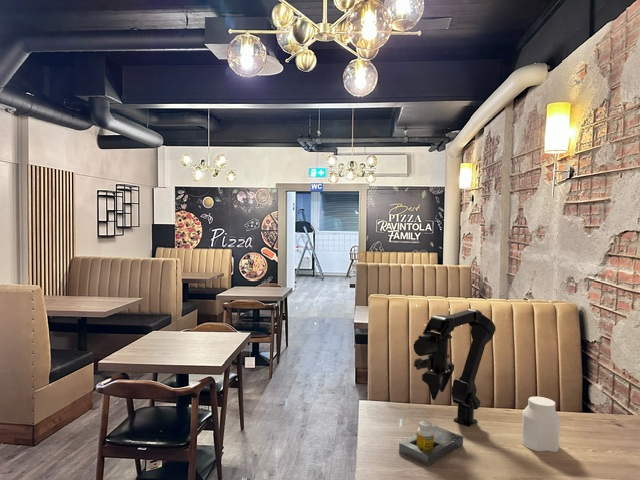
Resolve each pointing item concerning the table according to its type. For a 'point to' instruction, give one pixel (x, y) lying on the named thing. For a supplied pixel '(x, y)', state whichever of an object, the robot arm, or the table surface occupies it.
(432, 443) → the supplement bottle
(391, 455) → the table surface
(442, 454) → the grey slotted block
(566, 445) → the table surface
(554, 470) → the table surface
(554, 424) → the jar
